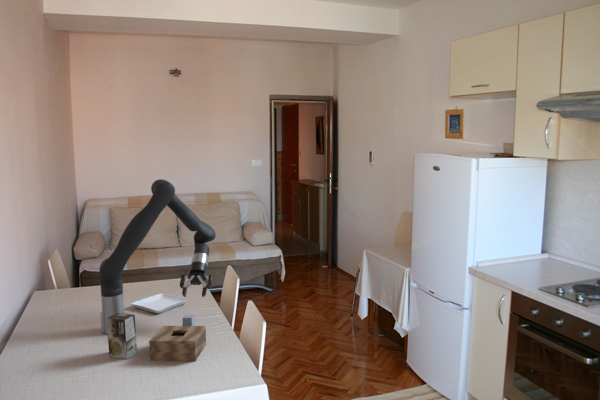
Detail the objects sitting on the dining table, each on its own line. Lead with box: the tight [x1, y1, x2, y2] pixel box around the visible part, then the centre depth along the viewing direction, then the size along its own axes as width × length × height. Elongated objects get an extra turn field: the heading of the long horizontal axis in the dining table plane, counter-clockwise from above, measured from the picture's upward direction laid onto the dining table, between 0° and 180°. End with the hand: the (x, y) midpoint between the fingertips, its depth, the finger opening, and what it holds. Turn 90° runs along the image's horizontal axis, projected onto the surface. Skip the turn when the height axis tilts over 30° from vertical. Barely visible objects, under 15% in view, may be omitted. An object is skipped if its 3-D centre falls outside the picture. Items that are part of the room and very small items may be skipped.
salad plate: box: [130, 292, 189, 314], centre depth 254 cm, size 21×21×3 cm
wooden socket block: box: [148, 325, 207, 362], centre depth 196 cm, size 18×16×8 cm
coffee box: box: [106, 313, 138, 360], centre depth 194 cm, size 9×6×16 cm
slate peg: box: [181, 314, 196, 326], centre depth 210 cm, size 4×4×10 cm
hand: (193, 296), depth 218 cm, fingers open, 8 cm apart
